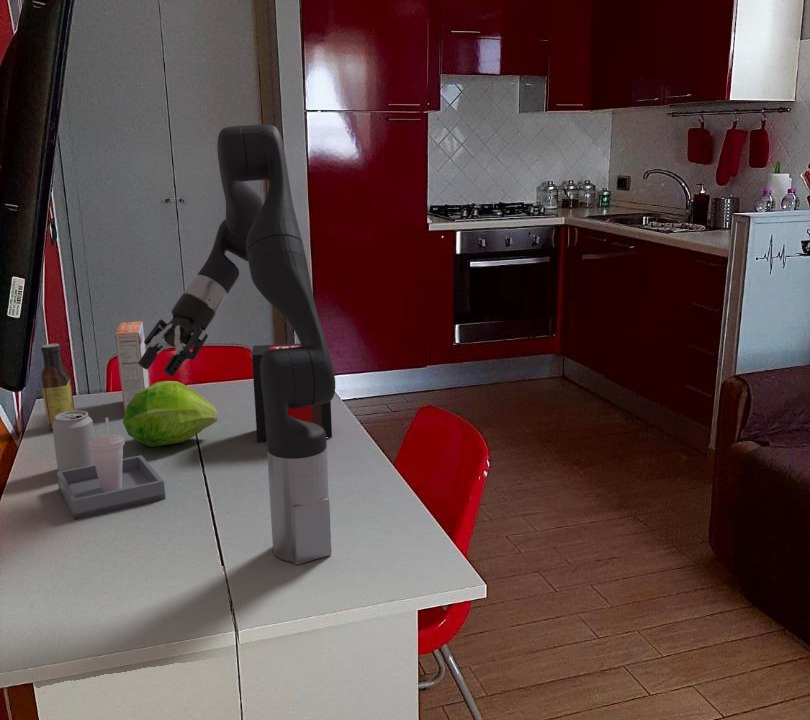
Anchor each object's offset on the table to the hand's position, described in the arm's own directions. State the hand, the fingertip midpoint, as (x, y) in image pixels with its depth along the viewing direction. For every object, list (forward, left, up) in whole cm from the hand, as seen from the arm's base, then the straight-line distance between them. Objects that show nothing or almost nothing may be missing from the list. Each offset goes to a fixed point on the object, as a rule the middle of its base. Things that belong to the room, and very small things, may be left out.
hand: (154, 370), depth 156 cm
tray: (-4, +11, -22) cm, 25 cm away
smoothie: (-3, +11, -21) cm, 24 cm away
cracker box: (+49, -7, -22) cm, 54 cm away
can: (+12, +14, -22) cm, 29 cm away
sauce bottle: (+43, +12, -22) cm, 50 cm away
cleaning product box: (+8, -32, -22) cm, 40 cm away
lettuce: (+18, -7, -22) cm, 29 cm away
